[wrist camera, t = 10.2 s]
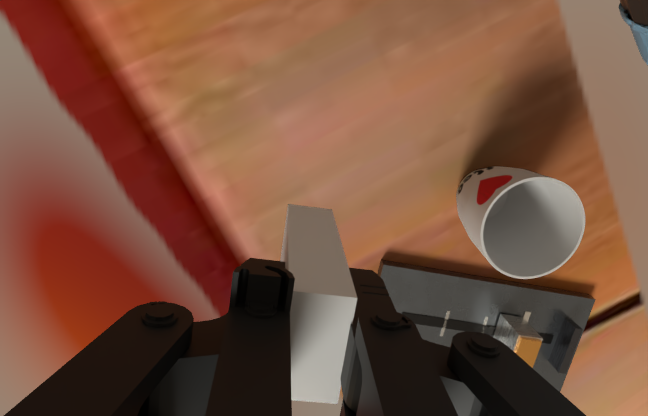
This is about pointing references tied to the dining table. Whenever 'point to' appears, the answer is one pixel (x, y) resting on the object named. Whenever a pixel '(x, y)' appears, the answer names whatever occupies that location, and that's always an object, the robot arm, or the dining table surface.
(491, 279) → the console
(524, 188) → the cup
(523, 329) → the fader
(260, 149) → the dining table surface
